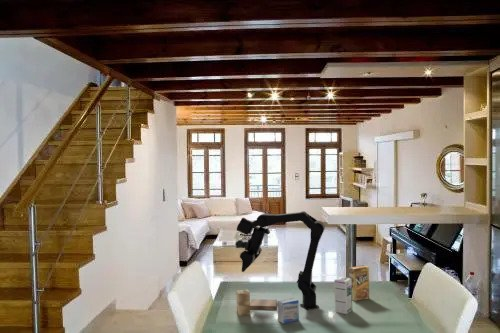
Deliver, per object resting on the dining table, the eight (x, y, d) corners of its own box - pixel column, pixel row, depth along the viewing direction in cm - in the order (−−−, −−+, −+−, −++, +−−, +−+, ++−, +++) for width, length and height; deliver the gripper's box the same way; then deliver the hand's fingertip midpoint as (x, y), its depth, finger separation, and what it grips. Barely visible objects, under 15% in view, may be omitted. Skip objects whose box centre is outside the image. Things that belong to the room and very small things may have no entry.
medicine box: (283, 324, 180) (282, 303, 180) (277, 320, 184) (277, 300, 184) (299, 320, 184) (298, 300, 183) (293, 317, 188) (293, 297, 187)
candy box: (354, 301, 206) (354, 269, 206) (349, 298, 210) (348, 266, 210) (369, 298, 210) (369, 266, 209) (364, 296, 214) (363, 264, 213)
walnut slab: (277, 303, 206) (276, 299, 206) (275, 310, 197) (275, 306, 197) (251, 303, 208) (251, 299, 208) (249, 309, 199) (249, 305, 199)
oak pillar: (247, 310, 197) (247, 289, 196) (250, 314, 192) (249, 292, 191) (236, 311, 196) (236, 290, 195) (238, 315, 191) (238, 293, 190)
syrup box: (347, 314, 190) (346, 281, 189) (334, 311, 193) (334, 279, 193) (352, 310, 194) (352, 278, 194) (340, 308, 198) (339, 276, 197)
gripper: (246, 228, 216) (235, 257, 218) (235, 235, 198) (223, 267, 200) (266, 237, 214) (255, 266, 215) (258, 245, 196) (246, 277, 197)
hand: (245, 269), depth 207 cm, fingers open, 9 cm apart
